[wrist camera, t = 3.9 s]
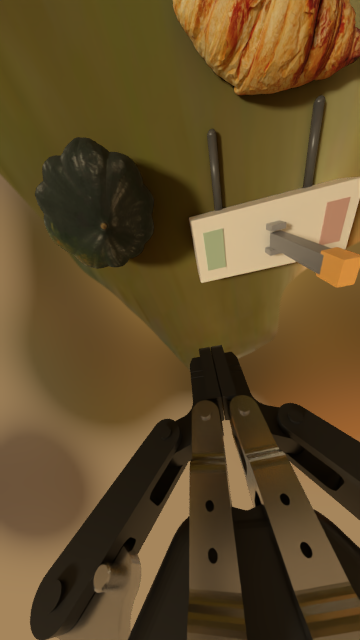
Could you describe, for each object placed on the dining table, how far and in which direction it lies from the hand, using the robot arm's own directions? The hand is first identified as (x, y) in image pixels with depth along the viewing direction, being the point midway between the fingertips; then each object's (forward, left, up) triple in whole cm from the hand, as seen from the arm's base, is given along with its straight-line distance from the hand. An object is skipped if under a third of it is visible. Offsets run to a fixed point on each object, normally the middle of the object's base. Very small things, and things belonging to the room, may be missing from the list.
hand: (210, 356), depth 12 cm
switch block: (-5, +13, -27) cm, 31 cm away
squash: (-9, -11, -27) cm, 31 cm away
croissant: (-21, +13, -28) cm, 37 cm away
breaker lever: (0, +13, -22) cm, 25 cm away
